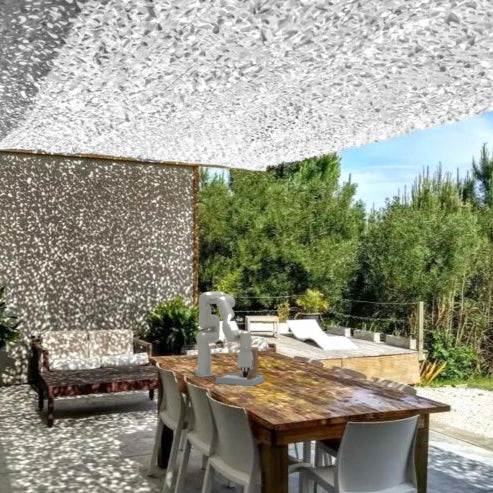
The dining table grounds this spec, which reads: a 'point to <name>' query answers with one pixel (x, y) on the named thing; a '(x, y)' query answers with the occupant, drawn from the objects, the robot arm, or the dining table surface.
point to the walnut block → (251, 376)
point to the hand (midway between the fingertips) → (245, 377)
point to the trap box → (239, 379)
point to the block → (254, 361)
